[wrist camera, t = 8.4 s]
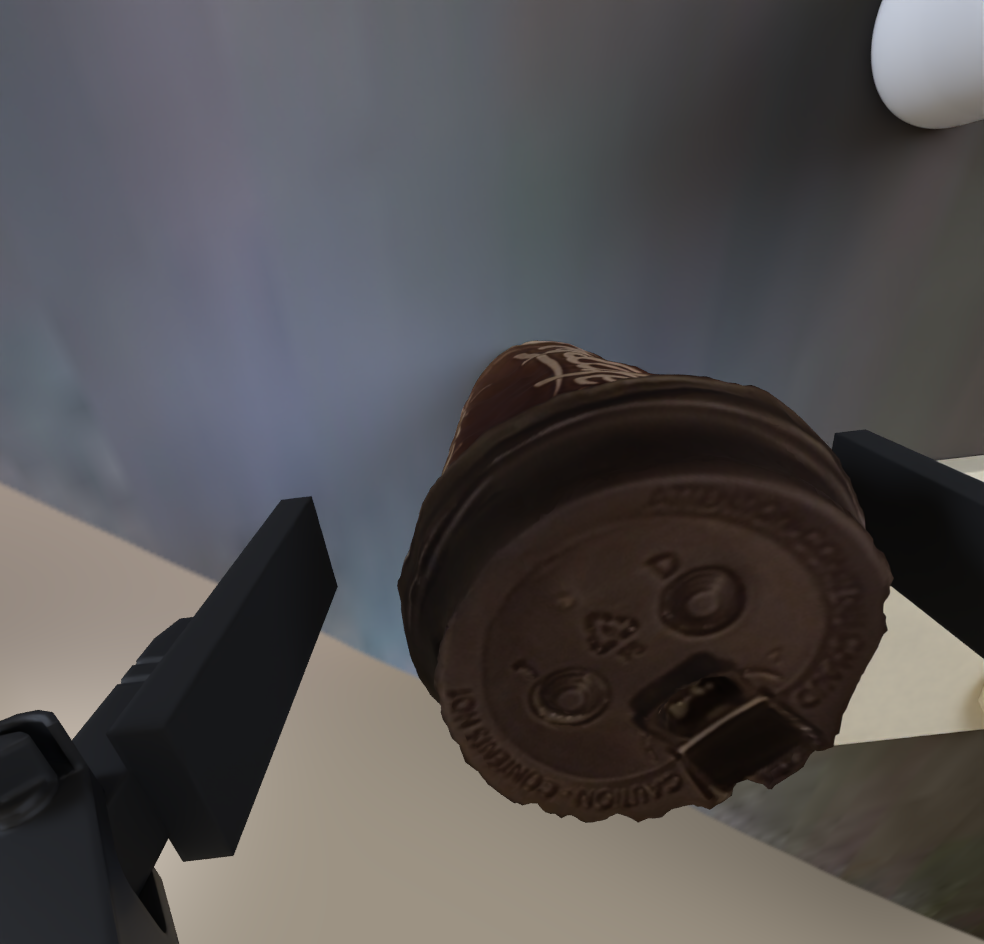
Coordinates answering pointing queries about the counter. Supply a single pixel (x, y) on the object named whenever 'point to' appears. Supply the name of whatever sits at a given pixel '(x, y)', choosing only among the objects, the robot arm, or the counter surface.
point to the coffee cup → (637, 586)
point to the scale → (917, 672)
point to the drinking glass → (930, 61)
